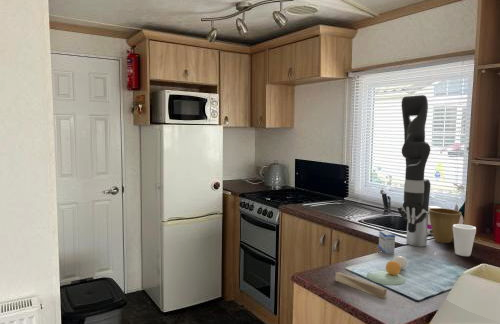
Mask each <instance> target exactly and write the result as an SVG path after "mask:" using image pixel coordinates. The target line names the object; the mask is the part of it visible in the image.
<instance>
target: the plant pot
mask: <svg viewBox="0 0 500 324" xmlns="http://www.w3.org/2000/svg"><path fill="white" fill-rule="evenodd" d="M429 215H430V223H431V228H432V232H433V235H432V236H433V238H434V241H435V242H437V243H442V244H450V243H452V240H454V235H453V225H454V224H460V220H461V217H462V212H461V211H458V210H455V209H450V208H442V207H441V208H431V209H429Z"/></svg>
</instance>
